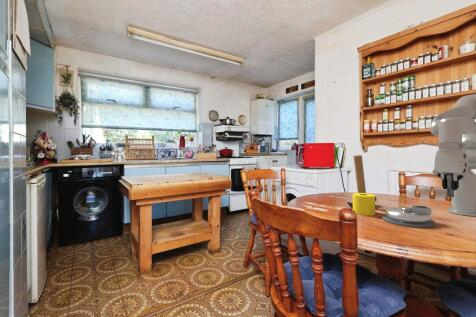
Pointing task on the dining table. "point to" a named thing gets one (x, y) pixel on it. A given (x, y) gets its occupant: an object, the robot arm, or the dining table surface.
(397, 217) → the grey pot lid
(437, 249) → the dining table surface
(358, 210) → the tape roll
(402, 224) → the base
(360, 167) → the hammer
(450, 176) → the steel pin
